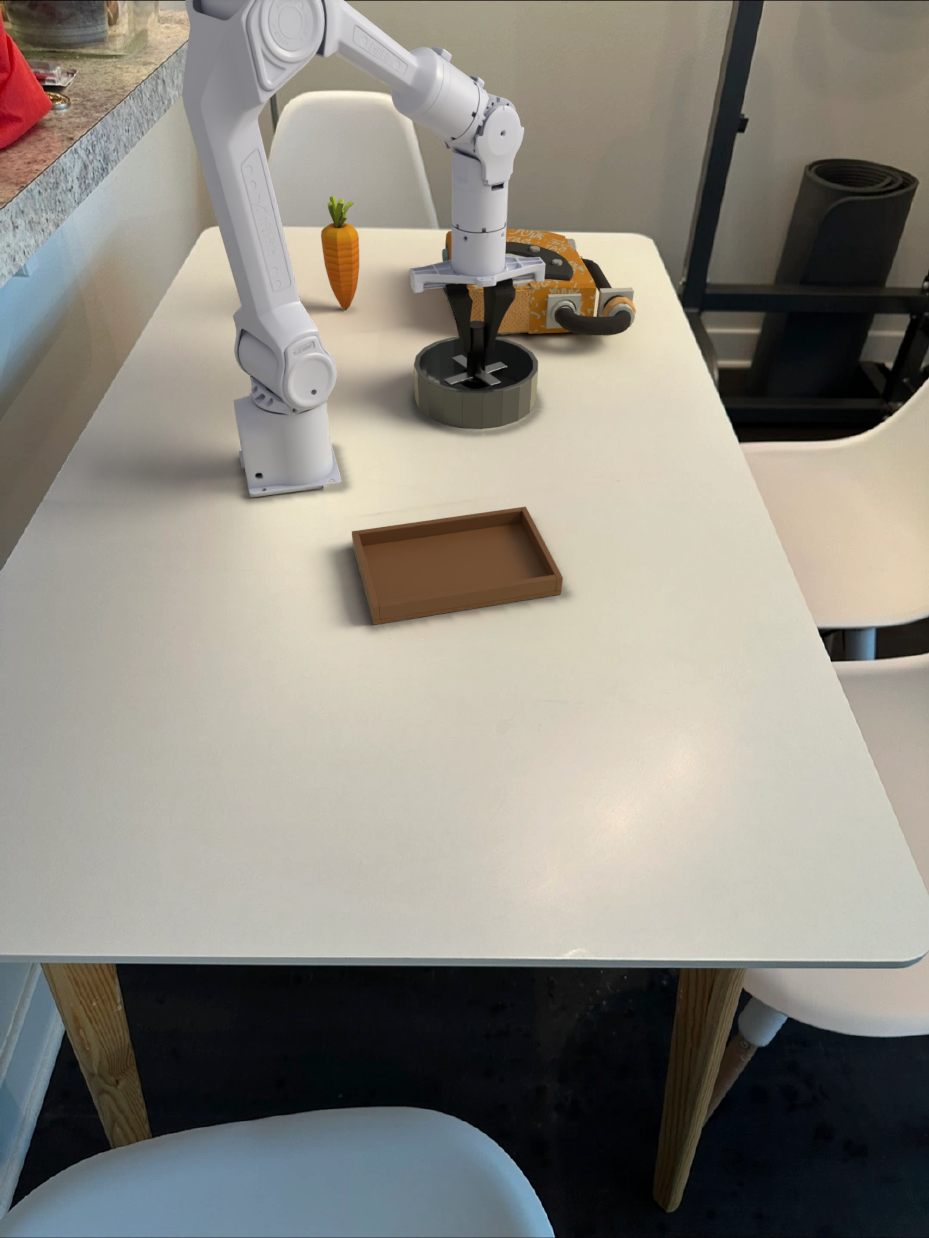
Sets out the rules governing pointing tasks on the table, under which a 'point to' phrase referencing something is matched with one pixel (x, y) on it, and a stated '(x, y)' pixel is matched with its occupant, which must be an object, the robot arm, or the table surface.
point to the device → (557, 290)
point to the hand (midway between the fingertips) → (476, 347)
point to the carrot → (341, 253)
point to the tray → (454, 564)
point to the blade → (476, 362)
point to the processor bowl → (475, 404)
